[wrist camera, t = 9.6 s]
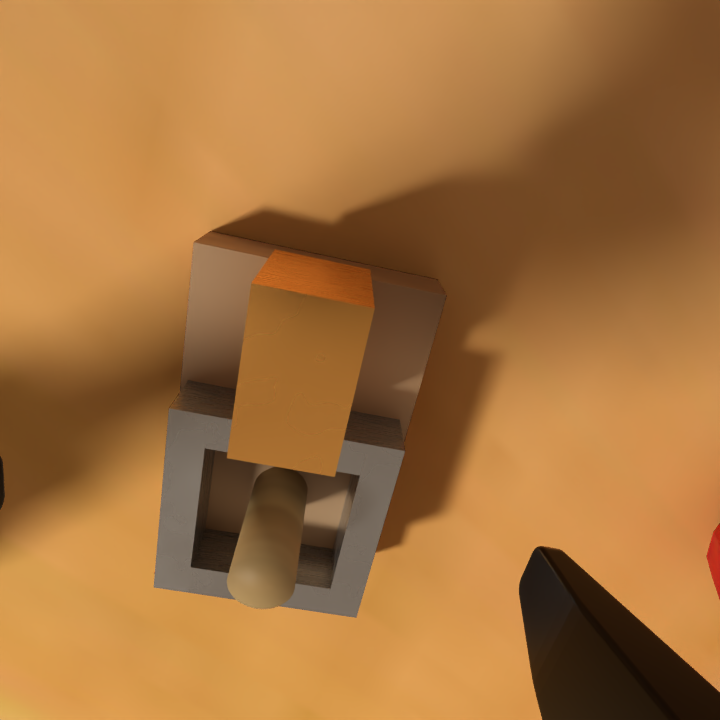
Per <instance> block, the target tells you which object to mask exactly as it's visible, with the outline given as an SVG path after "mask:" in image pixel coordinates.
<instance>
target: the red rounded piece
mask: <svg viewBox="0 0 720 720" xmlns="http://www.w3.org/2000/svg"><path fill="white" fill-rule="evenodd" d="M707 560H708V563H709V567H710V571H711V575H712V578H713V581H714V584H715V587H716V590H717V593H718V596H719V599H720V524H719V525H718V526H717V528H716V529H715V530H714V532H713V536H712V539H711V543H710V546H709V549H708V553H707Z"/></svg>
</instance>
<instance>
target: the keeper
mask: <svg viewBox="0 0 720 720" xmlns="http://www.w3.org/2000/svg"><path fill="white" fill-rule="evenodd" d="M275 249H276V250H281V251H285V252H290V253H295V254H299V255H304V256H309V257H313V258H318V259H323V260H328V261H332V262H337V263H342V264H346V265H351V266H356V267H361V268H365V269H370V271H371V280H372V288H373V297H374V305H375V310H374V314H373V318H372V322H371V327H370V331H369V335H368V339H367V343H366V348H365V352H364V356H363V360H362V364H361V369H360V373H359V377H358V381H357V385H356V390H355V394H354V398H353V402H352V407H351V411H356V412H361V413H367V414H372V415H377V416H383V417H388V418H393V419H399V420H400V422H401V429H402V435H403V441H405V437H406V434H407V430H408V427H409V423H410V420H411V417H412V413H413V410H414V406H415V403H416V399H417V396H418V392H419V389H420V386H421V382H422V379H423V375H424V372H425V368H426V365H427V362H428V358H429V355H430V351H431V348H432V344H433V341H434V337H435V334H436V331H437V327H438V324H439V320H440V317H441V313H442V310H443V306H444V303H445V300H446V296H447V295H446V294H445V292H444V290H443V288H442V287H441V285H440V283H439V281H438V280H437V279H432V278H427V277H423V276H418V275H413V274H409V273H404V272H399V271H394V270H390V269H385V268H380V267H376V266H371V265H366V264H362V263H357V262H352V261H348V260H343V259H338V258H334V257H329V256H324V255H319V254H315V253H310V252H305V251H301V250H296V249H291V248H287V247H282V246H277V245H273V244H268V243H263V242H259V241H254V240H249V239H244V238H240V237H235V236H230V235H226V234H221V233H216V232H212V231H210V232H208V233H207V234H205V235H204V236H202V237H201V238H199V239H198V240H196V241H195V242H194V245H193V256H192V267H191V277H190V288H189V299H188V310H187V320H186V331H185V342H184V352H183V363H182V374H181V385H180V391H181V390H182V389H183V387H184V386H185V384H186V383H187V381H188V380H190V381H195V382H200V383H206V384H211V385H217V386H222V387H227V388H233V389H236V388H237V381H238V374H239V367H240V360H241V353H242V345H243V338H244V331H245V324H246V317H247V309H248V302H249V295H250V288H251V283H252V281H253V280H254V278H255V277H256V275H257V274H258V273H259V271H260V270H261V268H262V267H263V265H264V264H265V263H266V261H267V260H268V258H269V257H270V255H271V254H272V253H273V251H274V250H275ZM227 453H228V452H223V451H217V450H215V458H214V465H213V473H212V481H211V489H210V496H209V504H208V512H207V520H206V528H207V529H213V530H219V531H226V532H232V533H238V534H240V535H239V539H238V542H237V546H236V549H235V553H234V556H233V560H232V563H231V567H230V570H229V574H228V577H227V587H228V590H229V592H230V593H231V595H232V596H233V597H234V598H235V599H236V600H237V601H238V602H240V603H242V604H244V605H246V606H248V607H252V608H256V609H270V608H274V607H278V606H280V605H282V604H284V603H285V602H287V601H288V600H289V599H290V598H291V596H292V595H293V593H294V590H295V583H296V575H297V568H298V560H299V553H300V545H301V544H306V545H312V546H318V547H325V548H331V549H333V545H334V542H335V538H336V534H337V530H338V526H339V522H340V518H341V514H342V510H343V506H344V502H345V498H346V494H347V490H348V486H349V482H350V478H351V474H348V473H343V472H337V471H336V474H335V477H332V476H326V475H321V474H315V473H309V472H303V471H298V470H292V469H286V468H281V467H275V466H269V465H263V464H258V463H252V462H246V461H240V460H235V459H229V458H227Z"/></svg>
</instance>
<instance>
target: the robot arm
mask: <svg viewBox="0 0 720 720" xmlns="http://www.w3.org/2000/svg"><path fill="white" fill-rule="evenodd" d="M4 497H5V490H4V473H3V461H2V458H1V456H0V509H1V507H2V505H3V502H4ZM519 596H520V603H521V609H522V616H523V622H524V629H525V635H526V642H527V648H528V655H529V661H530V668H531V673H532V679H533V684H534V688H535V692H536V697H537V701H538V705H539V709H540V712H541V716H542V720H720V692H719V691H718V690H717V689H715V688H714V687H713V686H712V685H711V684H710V683H709V682H708V681H707V680H705V679H704V678H703V677H702V676H701V675H700V674H699V673H698V672H697V671H695V670H694V669H693V668H692V667H691V666H690V665H689V664H688V663H687V662H685V661H684V660H683V659H682V658H681V657H680V656H679V655H678V654H677V653H675V652H674V651H673V650H672V649H671V648H670V647H669V646H668V645H667V644H665V643H664V642H663V641H662V640H661V639H660V638H659V637H658V636H657V635H655V634H654V633H653V632H652V631H651V630H650V629H649V628H648V627H647V626H645V625H644V624H643V623H642V622H641V621H640V620H639V619H638V618H637V617H635V616H634V615H633V614H632V613H631V612H630V611H629V610H628V609H627V608H625V607H624V606H623V605H622V604H621V603H620V602H619V601H618V600H617V599H615V598H614V597H613V596H612V595H611V594H610V593H609V592H608V591H607V590H605V589H604V588H603V587H602V586H601V585H600V584H599V583H598V582H597V581H595V580H594V579H593V578H592V577H591V576H590V575H589V574H588V573H587V572H585V571H584V570H583V569H582V568H581V567H580V566H579V565H578V564H577V563H575V562H574V561H573V560H572V559H571V558H570V557H569V556H568V555H567V554H565V553H564V552H563V551H562V550H560V549H556V548H550V547H544V546H539V547H537V548H535V549H534V551H533V553H532V555H531V557H530V560H529V562H528V564H527V566H526V569H525V571H524V573H523V575H522V577H521V580H520V584H519Z"/></svg>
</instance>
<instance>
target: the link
mask: <svg viewBox="0 0 720 720" xmlns="http://www.w3.org/2000/svg"><path fill="white" fill-rule="evenodd" d="M374 310H375V305H374V297H373V288H372V280H371V271H370V269H365V268H361V267H356V266H351V265H346V264H342V263H337V262H332V261H328V260H323V259H318V258H313V257H309V256H304V255H299V254H295V253H290V252H285V251H281V250H276V249H275V250H274V251H273V253H272V254H271V255H270V257H269V258H268V260H267V261H266V263H265V264H264V265H263V267H262V268H261V270H260V271H259V273H258V274H257V275H256V277H255V278H254V280H253V281H252V283H251V288H250V295H249V302H248V309H247V317H246V324H245V331H244V338H243V345H242V353H241V360H240V367H239V374H238V381H237V388H236V389H233V388H227V387H222V386H217V385H211V384H206V383H200V382H195V381H190V380H188V381H187V383H186V384H185V386H184V387H183V389H182V390H181V391H180V393H179V394H178V396H177V397H176V399H175V400H174V402H173V403H172V405H171V406H170V408H169V415H168V426H167V438H166V450H165V461H164V473H163V485H162V497H161V508H160V520H159V532H158V544H157V555H156V567H155V579H154V587H155V588H162V589H168V590H175V591H182V592H188V593H195V594H202V595H208V596H215V597H222V598H228V599H235V598H234V597H233V596H232V595H231V593H230V592H229V590H228V587H227V577H228V574H229V570H230V567H231V563H232V560H233V556H234V553H235V549H236V546H237V542H238V539H239V535H240V534H238V533H232V532H226V531H219V530H213V529H207V528H206V520H207V512H208V504H209V496H210V489H211V481H212V473H213V465H214V458H215V450H217V451H223V452H228V453H227V458H229V459H235V460H240V461H246V462H252V463H258V464H263V465H269V466H275V467H281V468H286V469H292V470H298V471H303V472H309V473H315V474H321V475H326V476H332V477H335V474H336V471H337V472H343V473H348V474H351V478H350V482H349V486H348V490H347V494H346V498H345V502H344V506H343V510H342V514H341V518H340V522H339V526H338V530H337V534H336V538H335V542H334V545H333V549H331V548H325V547H318V546H312V545H306V544H301V545H300V553H299V560H298V568H297V575H296V583H295V590H294V593H293V595H292V596H291V598H290V599H289V600H288V601H287V602H285V603H284V604H282V605H280V606H282V607H288V608H295V609H302V610H308V611H315V612H322V613H328V614H335V615H342V616H348V617H355V618H356V617H357V613H358V610H359V606H360V603H361V600H362V596H363V593H364V589H365V586H366V583H367V579H368V576H369V572H370V569H371V566H372V562H373V559H374V555H375V552H376V548H377V545H378V542H379V538H380V535H381V531H382V528H383V525H384V521H385V518H386V514H387V511H388V508H389V504H390V501H391V497H392V494H393V491H394V487H395V484H396V480H397V477H398V474H399V470H400V467H401V463H402V460H403V457H404V453H405V447H404V441H403V435H402V429H401V422H400V420H399V419H393V418H388V417H383V416H377V415H372V414H367V413H361V412H356V411H351V407H352V402H353V398H354V394H355V390H356V385H357V381H358V377H359V373H360V369H361V364H362V360H363V356H364V352H365V348H366V343H367V339H368V335H369V331H370V327H371V322H372V318H373V314H374ZM235 600H236V599H235Z"/></svg>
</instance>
